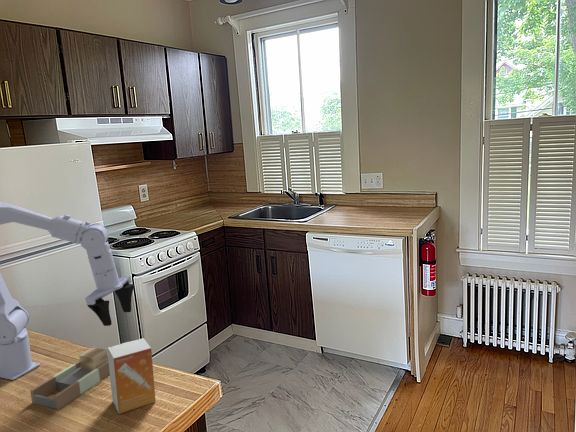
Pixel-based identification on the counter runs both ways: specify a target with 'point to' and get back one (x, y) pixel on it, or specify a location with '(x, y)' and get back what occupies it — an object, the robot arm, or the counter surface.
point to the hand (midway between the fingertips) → (117, 318)
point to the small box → (131, 375)
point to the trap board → (68, 385)
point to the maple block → (93, 358)
